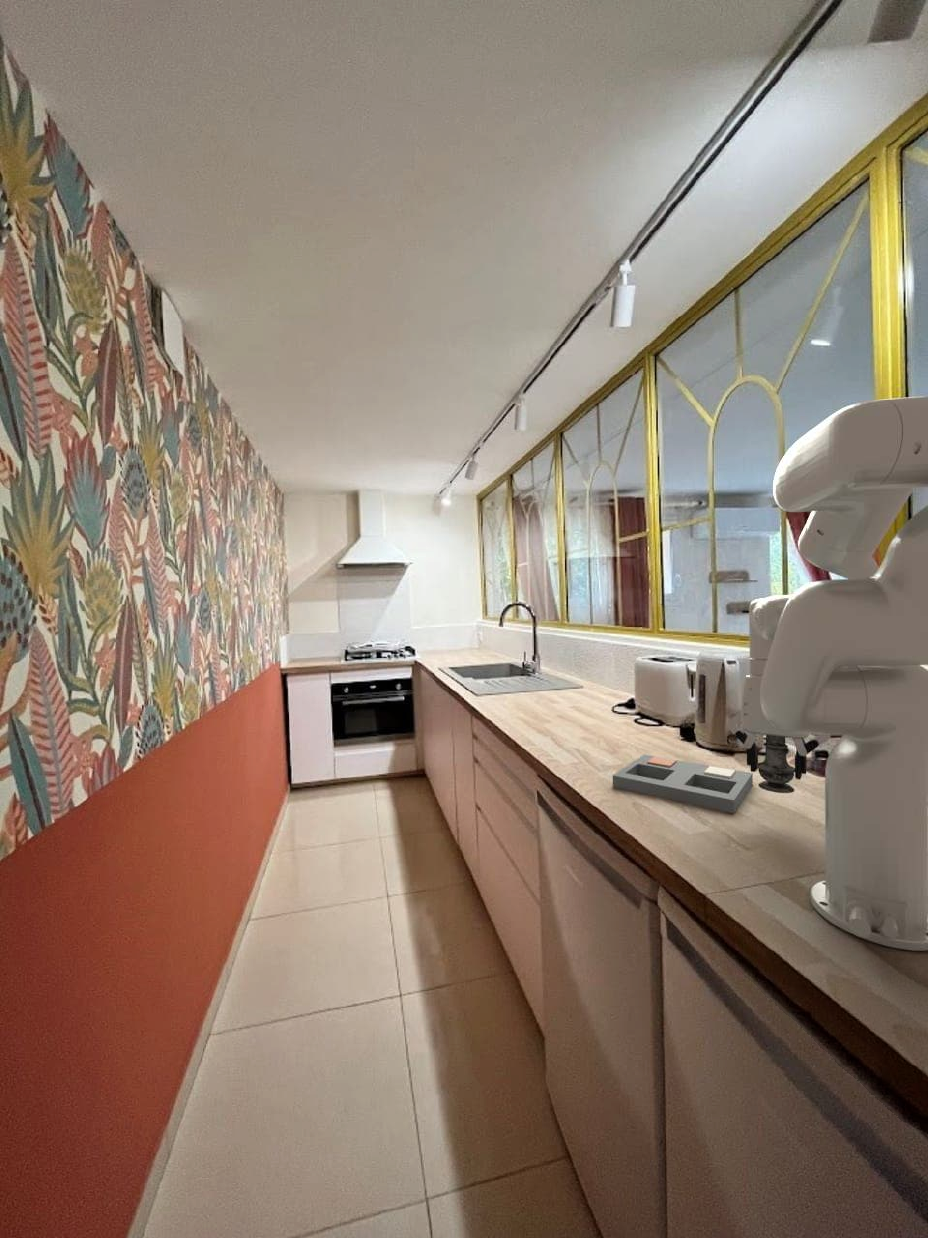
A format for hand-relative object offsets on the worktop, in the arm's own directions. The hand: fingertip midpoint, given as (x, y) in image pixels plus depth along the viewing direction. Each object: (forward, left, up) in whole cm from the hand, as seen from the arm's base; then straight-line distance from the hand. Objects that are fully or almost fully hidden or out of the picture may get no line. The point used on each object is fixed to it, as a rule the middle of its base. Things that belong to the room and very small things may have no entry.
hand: (775, 772), depth 85 cm
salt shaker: (0, 0, -3) cm, 3 cm away
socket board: (+10, +18, -9) cm, 23 cm away
